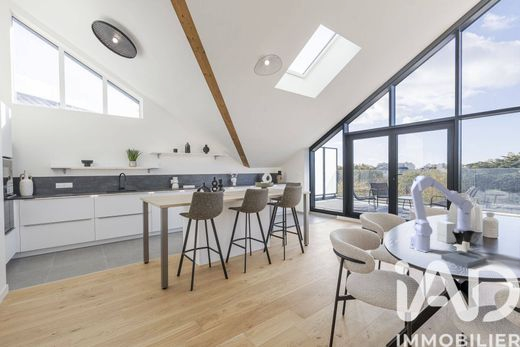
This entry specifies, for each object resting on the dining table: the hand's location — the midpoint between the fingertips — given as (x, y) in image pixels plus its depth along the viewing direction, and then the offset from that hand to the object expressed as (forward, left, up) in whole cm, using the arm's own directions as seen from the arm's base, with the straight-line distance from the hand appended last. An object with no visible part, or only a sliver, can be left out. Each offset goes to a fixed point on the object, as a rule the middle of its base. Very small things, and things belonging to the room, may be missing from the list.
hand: (463, 243), depth 144 cm
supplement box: (-16, +12, -5) cm, 21 cm away
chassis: (+8, -15, -5) cm, 18 cm away
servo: (0, 0, -5) cm, 5 cm away
